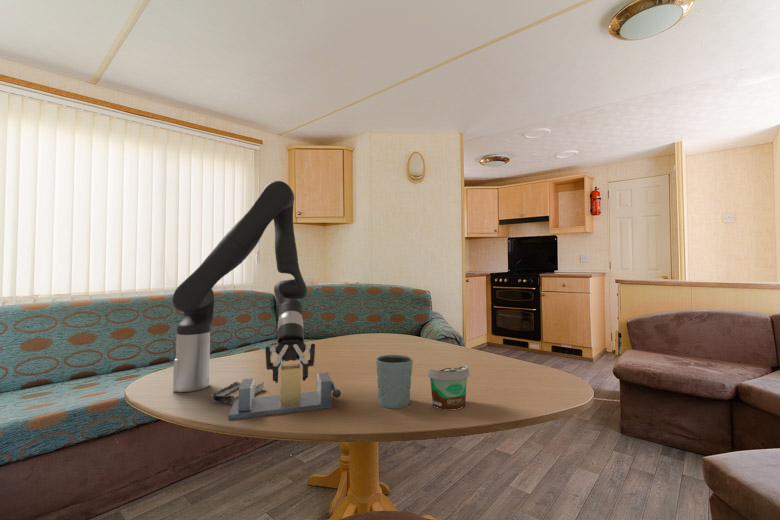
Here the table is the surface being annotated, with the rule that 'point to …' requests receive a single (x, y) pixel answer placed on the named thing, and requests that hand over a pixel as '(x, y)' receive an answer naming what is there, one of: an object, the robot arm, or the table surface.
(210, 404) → the table surface
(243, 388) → the sliding jaw
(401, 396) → the blue embossed cup
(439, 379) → the food container
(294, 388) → the brass block
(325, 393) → the vise base
